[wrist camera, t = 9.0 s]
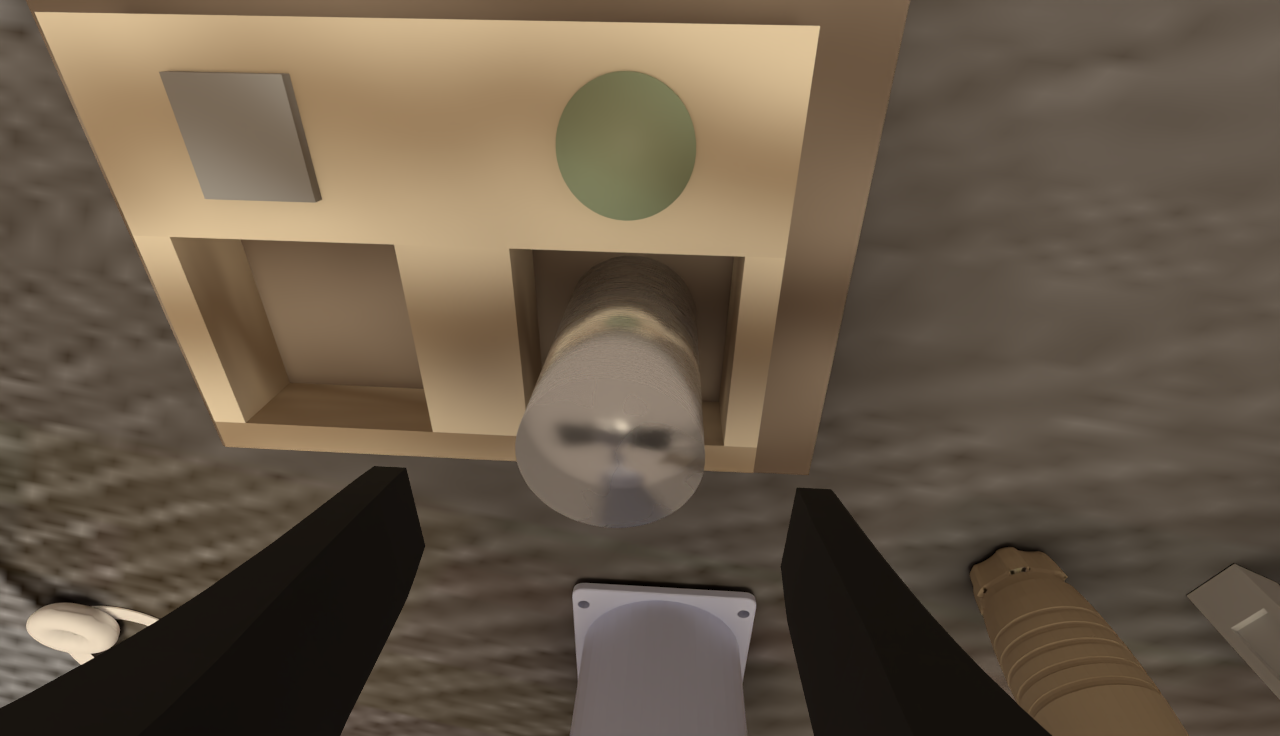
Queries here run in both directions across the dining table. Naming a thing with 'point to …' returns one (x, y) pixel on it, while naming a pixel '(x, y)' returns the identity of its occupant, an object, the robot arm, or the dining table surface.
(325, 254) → the socket block
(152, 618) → the teacup and saucer
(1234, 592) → the stool
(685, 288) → the peg
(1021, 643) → the handle
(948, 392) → the dining table surface
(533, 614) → the dining table surface
